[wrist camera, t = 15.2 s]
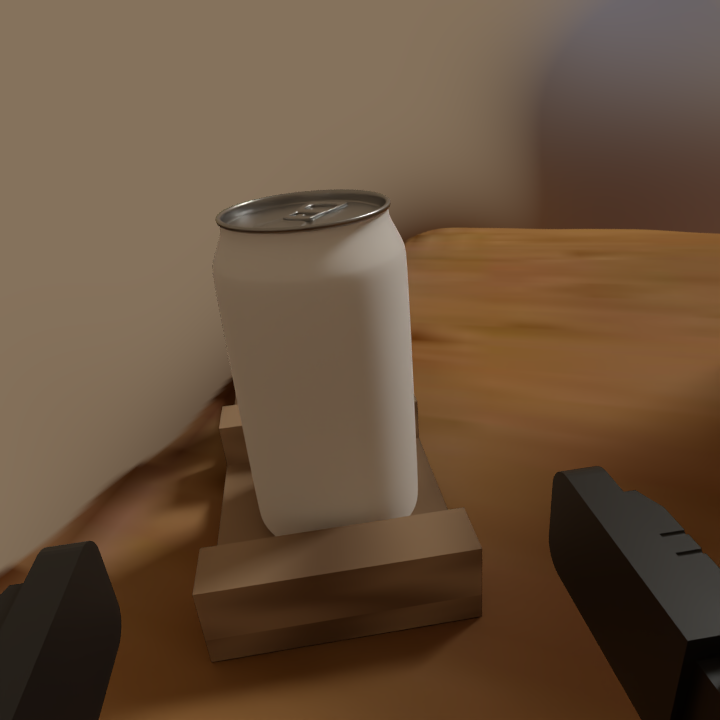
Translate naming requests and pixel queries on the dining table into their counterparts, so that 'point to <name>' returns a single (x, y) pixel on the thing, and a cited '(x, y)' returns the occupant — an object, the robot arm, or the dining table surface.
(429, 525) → the rail
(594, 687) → the dining table surface
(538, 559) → the dining table surface
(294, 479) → the can
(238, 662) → the dining table surface
